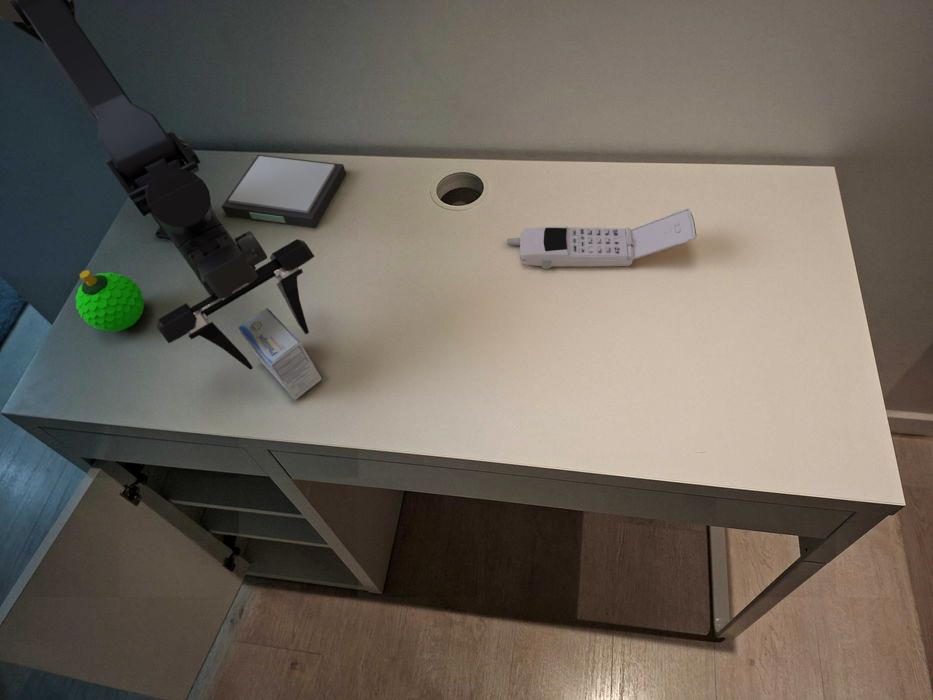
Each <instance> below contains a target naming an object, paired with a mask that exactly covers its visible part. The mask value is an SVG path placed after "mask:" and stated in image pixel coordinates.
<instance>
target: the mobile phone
mask: <svg viewBox="0 0 933 700" xmlns="http://www.w3.org/2000/svg"><path fill="white" fill-rule="evenodd" d="M695 239H697V229H696V224H695V220H694V216H693V214H692V211H691V210H690V209H689V208H686V209H685V208H684V209H680V210H677V211H675V212H672V213H671V214H669V215H665V216H663V217H661V218H658V219H656V220H653V221H650V222H648V223H645V224H642V225H640V226H638V227H637V226H636V228H632V229H631V228H630V227H626V228H625V227H624V228H622V227H621V228H620V227H619V228H618V227H617V228H615V227H579V226H578V227H570V226H541V227H527V228H523V229H522V230H521V231H520V236H519V237H513V238H512V237H511V238H506V244H507V245H512V246H513V245H514V246H519V260H520V262H521V264H523V265H527V266H537V267H541V268H542V269H550V268H551V267H629V266H631V265H632V264H633V261H634V260H637V259H640V258H643V257H646V256H649V255H652V254H655V253H658V252H661V251H664V250H668V249H671V248H673V247H677V246H679V245H682V244H685V243H687V242H690V241H692V240H695Z"/></svg>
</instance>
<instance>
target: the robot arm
mask: <svg viewBox="0 0 933 700" xmlns="http://www.w3.org/2000/svg"><path fill="white" fill-rule="evenodd" d="M0 19H1V20H2V21H5V22H6V21H7V22H11V23H12V24H13V25H14V27H16V28H17V29H19V30H20V31H22V32H24V33H25V34H27V35H28V36H30V37H32V38H33V39H35V40H37V41H38V42H40V43H41V44H43V45H44V47H45V49H46V50H47V51H48V53H49V54H50V55H51V57H52V58H53V60H54V61H55V63H56V64H57V66H58V67H59V68H60V70H61V72H62V73H63V74H64V76H65V77H66V79H67V80H68V82H69V83H70V85H71V86H72V87H73V89H74V90H75V92H76V94H77V95H78V96H79V98H80V99H81V101H82V102H83V104H84V105H85V106H86V108H87V109H88V111H89V112H90V114H91V115H92V117H93V118H94V120H95V122H97V136H98V137H97V139H98V142H99V143H100V144H101V146H102V147H103V149H104V150H105V152H106V153H107V154H108V156H109V157H110V159H108V160H105V164H106V165H107V166H108V168H109V170H110V171H111V172H112V174H113V175H114V177H115V179H117V181H118V183H119V185H120V186H121V187H122V189H123V191H124V192H125V193H126V195H127V196H128V197H129V199H130V200H131V201H132V203H133V204H134V205H135V207H136V208H137V209H138V211H139V213H140V214H141V215H142V216H143V217H145V216H147V215H148V214H150V215H151V216H152V218H153V219H154V220H155V222H156V224H157V225H158V227H159V228H158V229H157V231H156V232H155V237H156V238H159V239H160V238H161V239H168V240H170V241H171V242H172V243H173V244H174V246H175V247H176V249H177V250H178V252H179V253H180V255H181V256H182V257H183V259H184V260H185V262H186V264H187V265H188V266H189V267H190V268H191V270H192V272H193V274H195V276H196V277H197V279H198V281H199V282H200V283H201V285H202V286H203V288H204V289H205V290H206V292H207V293H208V295H209V296H208V297H207V298H205V299H203V300H201V301H200V302H198V303H197V304H194V305H193V306H191V305H190V304H188V303H184V304H182V305H181V306H178V307H177V308H175V309H173V310H171V311H170V312H168V313H166V314H165V315H163V316H162V317H160V318H158V319H157V322H156V323H157V324H156V328H157V330H158V331H159V332H160V334H161V335H162V336H163V338H164V339H165V340H166V342H167V343H168V344H172V343H173V342H175V341H177V340H179V339H181V338H182V337H184V336H186V335H187V334H188V338H189V339H190V340H194V339H196V338H197V337H201V338H203V339H205V340H207V341H209V342H210V343H212V344H214V345H216V346H218V347H219V348H221V349H222V350H224V351H225V352H227V353H228V354H229V355H230V356H232V357H233V358H234V359H235V360H236V361H238V362H239V363H241V365H243V366H244V367H246V368H247V369H249V370H250V371H251V370H253V369H254V366H252V364H251V362H250V361H249V360H248V358H247V357H246V356H245V355H244V354H243V353H242V352H241V350H240V349H239V348H238V347H237V346H236V344H234V343H233V342H232V340H230V338H228V337H227V335H226V334H225V333H224V332H223V331H222V330H221V329H220V327H218V326H217V324H215V323H214V322H213V321H208V319H210V318H209V316H210V315H212V314H214V313H215V312H217V311H218V310H221V309H223V308H224V307H225V306H227V305H229V304H230V303H233V302H234V301H235V300H238V299H239V298H241V297H242V296H244V295H246V294H248V293H249V292H251V291H253V290H255V289H256V288H258V287H260V286H261V285H263V284H264V283H267V282H268V281H269V280H271V279H273V278H275V279H276V280H278V282H277V283H276V286H277V287H278V290H279V292H280V293H281V296H282V297H283V299H284V301H285V303H286V305H287V306H288V309H289V310H290V312H291V314H292V316H293V318H294V320H295V321H296V323H297V325H298V327H300V329H301V330H302V332H303V333H304V335H308V334H310V331H309V327H308V325H307V321H306V318H305V314H304V311H303V307H302V303H301V299H300V294H299V286H298V277H299V276H301V275H302V274H303V273H304V270H303V268H299V267H301V266H304V264H307V263H308V262H310V261H311V260H312V259H314V258H315V257H316V256H315V254H314V253H313V251H312V249H310V247H309V246H308V244H307V243H306V242H305V241H304V240H302V239H298V238H296V239H294V240H293V241H291V242H290V243H288V244H285V245H284V246H282V247H281V248H279V249H277V250H275V251H273V252H272V253H271V254H270V256H269V259H270V261H269V262H267V263H264V264H263V265H261V266H260V267H258V268H257V267H256V266H257V265H259V264H260V263H262V262H264V261H265V260H267V259H268V255H267V254H266V252H265V250H264V248H263V246H262V245H261V244H260V242H259V241H258V239H257V238H256V236H255V235H254V233H253V232H252V231H251V230H248V231H246V232H244V233H242V234H240V235H239V236H237V237H235V238H233V237H232V235H231V234H230V232H229V230H228V229H227V228H226V226H225V225H224V224H223V222H222V220H221V219H220V218H219V216H218V215H217V213H216V212H215V210H214V208H213V205H212V199H211V195H210V194H211V193H210V191H209V187H208V186H207V184H206V183H205V181H204V180H203V179H201V178H200V177H199V176H198V175H197V174H196V173H197V172H199V171H200V167H199V165H198V164H200V163H201V161H200V159H199V157H198V155H197V154H196V152H195V151H194V150H193V149H192V148H191V146H189V144H188V143H187V142H186V141H185V140H184V138H183V137H180V136H178V135H176V133H175V132H173V131H172V130H168V131H166V130H165V129H164V127H163V125H161V123H160V121H159V120H158V119H157V118H156V116H155V114H153V113H152V112H149V111H148V110H146V109H144V108H142V107H140V106H138V105H136V104H135V103H133V101H132V100H131V99H130V98H129V96H128V95H127V93H126V91H125V90H124V89H123V87H122V86H121V84H120V83H119V82H118V80H117V78H116V77H115V76H114V74H113V72H112V71H111V69H110V67H108V66H107V64H106V62H105V61H104V59H103V58H102V56H101V55H100V53H99V51H97V49H96V48H95V46H94V45H93V43H92V42H91V41H90V39H89V37H88V36H87V34H86V33H85V32H84V30H83V29H82V27H81V25H80V24H79V23H78V21H77V20H76V4H75V1H74V0H0Z"/></svg>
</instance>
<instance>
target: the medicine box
mask: <svg viewBox="0 0 933 700" xmlns="http://www.w3.org/2000/svg"><path fill="white" fill-rule="evenodd" d="M238 330H239V332H240V334H241V335H242V337H243V338H244V339H245V341H246V342H247V344H248V345H249V347H250V348H251V349H252V350H253V352H254V354H255V355H256V356H257V358H258V359H259V361H260V362H261V363H262V364H263V365H264V367H265V368H266V369H267V370H268V371H269V372H270V373H271V375H273V378H275V379H276V380H277V381H278V382H279V384H280V385H281V386H282V387H283V388H284V389H285V390H286V391H287V393H288V394H289V395H290V396H291V398H292V399H293V400H295V401H296V400H297V399H299V398H300V397H301V396H303V395H304V394H305V393H306V392H308V391H309V390H310V389H311V388H313V387H315V385H317V384H318V383H319V382H321V381H322V377H321V375H320V373H319V371H318V370H317V368H316V366H315V365H314V363H313V361H312V360H311V358H310V356H309V354H308V352H306V350H305V348H304V346H303V345H302V343H301V341H300V340H298V338H297V337H295V335H294V334H293V333H292V332H291V331H290V330H289V328H287V326H285V324H283V323H282V322H281V321H280V320H279V318H278V317H277V316H276V315H275V314H274V313H273V311H271V310H270V309H269V308H268V307H267V308H264V309H263V310H261V311H260V312H259V313H257V314H255V315H254V316H252V317H251V318H249V319H248V320H246V321H245V322H243V323H242V324H240V326H238Z"/></svg>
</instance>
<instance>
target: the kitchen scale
mask: <svg viewBox="0 0 933 700" xmlns="http://www.w3.org/2000/svg"><path fill="white" fill-rule="evenodd" d="M346 176H347V171H346V169H345V165H344V163H335V162H328V161H319V160H308V159H299V158H291V157H284V156H275V155H274V156H273V155H265V154H257V155H256V157H255V158H254V159H253V161H252V163H251V164H250V165H249V167H248V168H247V170H246V171H245V172H244V173H243V175H242V177H241V178H240V179H239V181H238V182H237V184H236V185H235V186H234V188H233V189H232V191H231V192H230V194H229V195H228V196H227V198H226V199H225V201H224V202H223V203H222V205H221V208H222V210H223V212H224V213H225V215H226V216H229V217H234V218H242V219H249V220H257V221H262V222H270V223H276V224H277V223H278V224H283V225H290V226H298V227H304V228H305V227H306V228H312V229H316V228H317V226H318V224H319V223H320V221H321V219H322V217H323V215H324V214H325V212H326V210H327V209H328V207H329V205H330V203H331V201H332V200H333V198H334V196H335V194H336V193H337V191H338V189H339V187H340V186H341V184H342V182H343V181H344V179H345V177H346Z"/></svg>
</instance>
